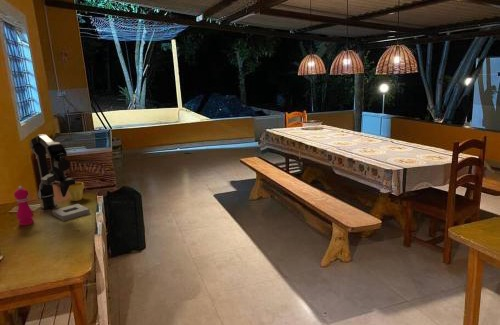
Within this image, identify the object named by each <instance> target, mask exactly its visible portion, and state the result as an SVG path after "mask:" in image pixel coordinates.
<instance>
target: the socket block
mask: <svg viewBox="0 0 500 325" xmlns="http://www.w3.org/2000/svg"><path fill="white" fill-rule="evenodd" d="M51 210H52V211H51V212H52V215H53V216H55V217H56V218H57V219H59V220H61V221H63V222H64V221H67V220H71V219H74V218H78V217H82V216H85V215H88V214H90V208H88V207H86V206H84V205H81V204H80V203H75V204H71V205H69V206H63V207H61V208H58V209H57V208H56V209H51Z"/></svg>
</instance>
